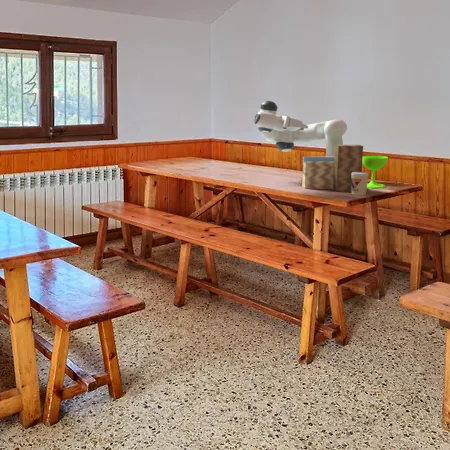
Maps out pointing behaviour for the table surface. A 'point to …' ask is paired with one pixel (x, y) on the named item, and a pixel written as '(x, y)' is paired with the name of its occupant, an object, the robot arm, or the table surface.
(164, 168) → the table surface
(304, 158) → the batten
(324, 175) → the zigzag patterned box
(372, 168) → the wineglass
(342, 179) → the tall brown box
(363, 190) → the coffee cup
